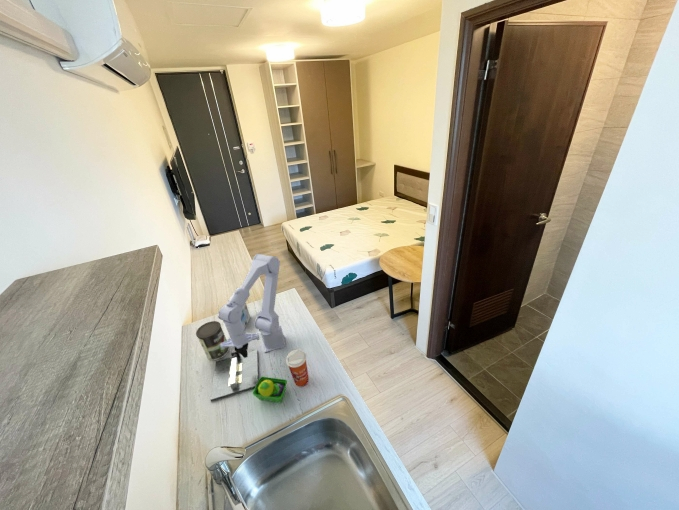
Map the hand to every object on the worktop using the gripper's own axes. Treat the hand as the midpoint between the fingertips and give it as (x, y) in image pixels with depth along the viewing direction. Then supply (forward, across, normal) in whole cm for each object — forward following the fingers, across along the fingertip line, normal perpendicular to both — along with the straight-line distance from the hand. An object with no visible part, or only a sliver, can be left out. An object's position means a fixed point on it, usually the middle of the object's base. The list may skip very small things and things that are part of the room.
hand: (245, 355), depth 112 cm
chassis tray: (+8, -6, 0) cm, 10 cm away
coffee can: (+9, -15, +16) cm, 24 cm away
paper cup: (+9, +20, -13) cm, 25 cm away
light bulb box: (+9, -5, +32) cm, 34 cm away
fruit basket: (+9, +8, -16) cm, 20 cm away
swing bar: (+7, -6, -1) cm, 9 cm away
